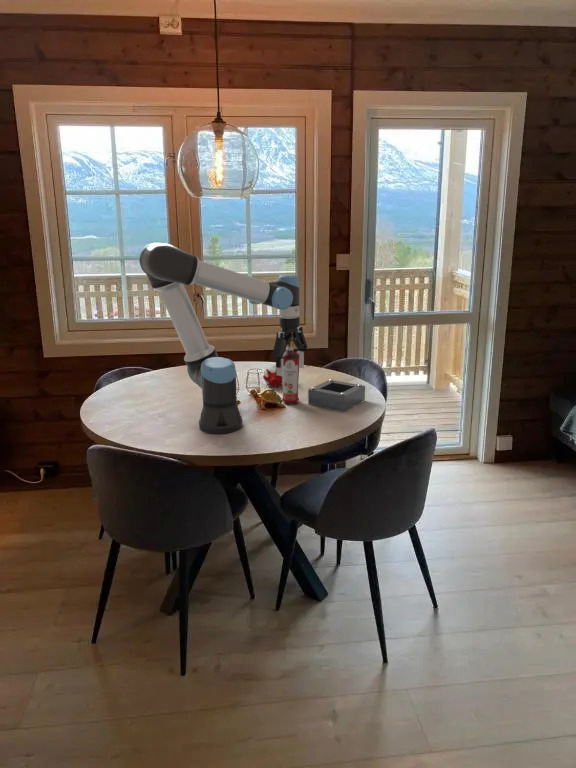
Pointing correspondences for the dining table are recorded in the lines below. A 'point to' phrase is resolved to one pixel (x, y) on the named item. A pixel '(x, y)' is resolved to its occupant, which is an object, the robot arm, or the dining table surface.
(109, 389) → the dining table surface
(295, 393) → the liquor
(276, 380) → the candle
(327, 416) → the dining table surface
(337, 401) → the housing
